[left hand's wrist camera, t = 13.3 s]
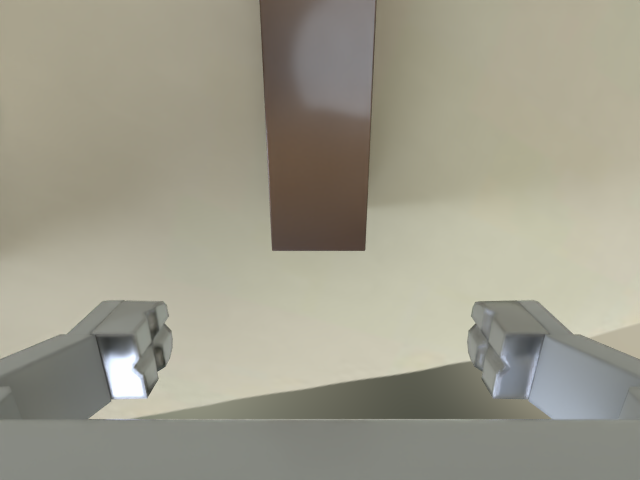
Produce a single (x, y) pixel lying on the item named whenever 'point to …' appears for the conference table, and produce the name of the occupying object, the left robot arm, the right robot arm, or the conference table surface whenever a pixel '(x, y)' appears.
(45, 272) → the conference table surface
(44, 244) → the conference table surface
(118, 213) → the conference table surface
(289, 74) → the bar
